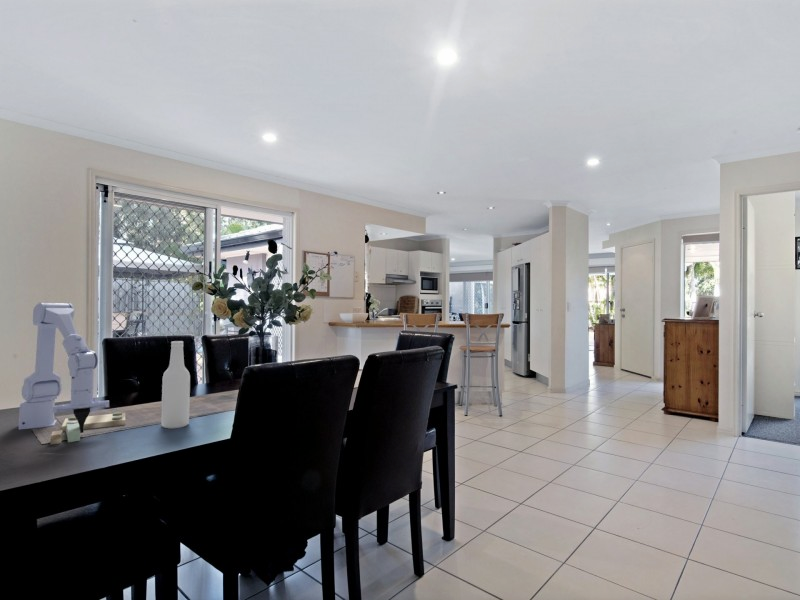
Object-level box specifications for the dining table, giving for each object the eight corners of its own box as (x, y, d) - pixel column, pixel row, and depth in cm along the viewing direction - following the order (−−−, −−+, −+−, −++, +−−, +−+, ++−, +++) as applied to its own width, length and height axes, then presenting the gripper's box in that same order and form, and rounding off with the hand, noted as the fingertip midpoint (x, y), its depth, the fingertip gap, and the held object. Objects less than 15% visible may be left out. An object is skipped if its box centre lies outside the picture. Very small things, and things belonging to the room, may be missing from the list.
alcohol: (156, 429, 150) (158, 342, 150) (168, 422, 158) (170, 340, 159) (182, 429, 150) (184, 342, 151) (193, 422, 159) (195, 340, 159)
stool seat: (50, 445, 131) (50, 435, 131) (61, 424, 153) (61, 416, 154) (125, 436, 141) (125, 426, 141) (125, 417, 164) (125, 409, 164)
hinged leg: (65, 431, 144) (66, 421, 144) (77, 429, 146) (78, 420, 146) (67, 442, 133) (67, 431, 133) (80, 440, 135) (80, 430, 135)
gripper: (53, 394, 132) (51, 439, 131) (110, 389, 141) (109, 431, 140) (53, 390, 137) (52, 433, 137) (108, 386, 146) (107, 426, 146)
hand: (81, 432), depth 139 cm, fingers closed, pressing on hinged leg
